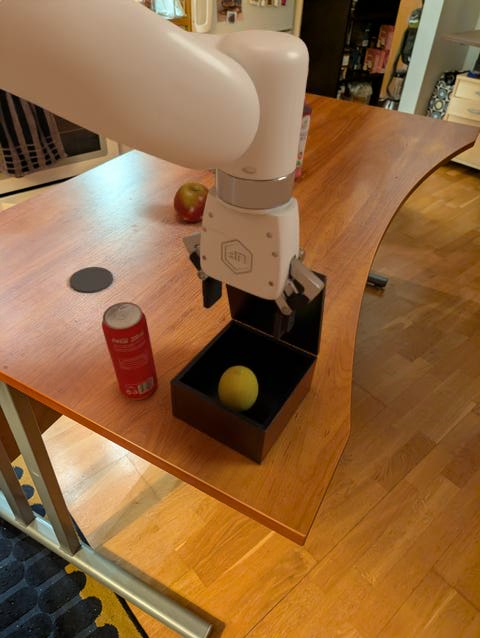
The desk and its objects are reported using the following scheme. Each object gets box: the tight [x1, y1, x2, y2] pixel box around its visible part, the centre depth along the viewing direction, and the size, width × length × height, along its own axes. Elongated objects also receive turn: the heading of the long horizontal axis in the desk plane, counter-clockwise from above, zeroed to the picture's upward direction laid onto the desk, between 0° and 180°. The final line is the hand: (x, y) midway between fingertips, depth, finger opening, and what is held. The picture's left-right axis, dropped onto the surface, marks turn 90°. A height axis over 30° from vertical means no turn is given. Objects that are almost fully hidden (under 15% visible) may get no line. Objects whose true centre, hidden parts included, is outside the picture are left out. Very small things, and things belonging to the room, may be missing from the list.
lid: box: [224, 247, 328, 357], centre depth 63 cm, size 16×15×5 cm
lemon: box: [218, 366, 258, 412], centre depth 64 cm, size 6×6×8 cm
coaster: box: [69, 266, 114, 294], centre depth 89 cm, size 8×8×1 cm
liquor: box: [294, 67, 313, 182], centre depth 121 cm, size 7×7×28 cm
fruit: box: [173, 181, 209, 223], centre depth 107 cm, size 10×9×8 cm
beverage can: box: [101, 301, 158, 401], centre depth 65 cm, size 6×6×15 cm
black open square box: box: [169, 318, 318, 466], centre depth 66 cm, size 16×15×7 cm
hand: (245, 316), depth 56 cm, fingers open, 9 cm apart
